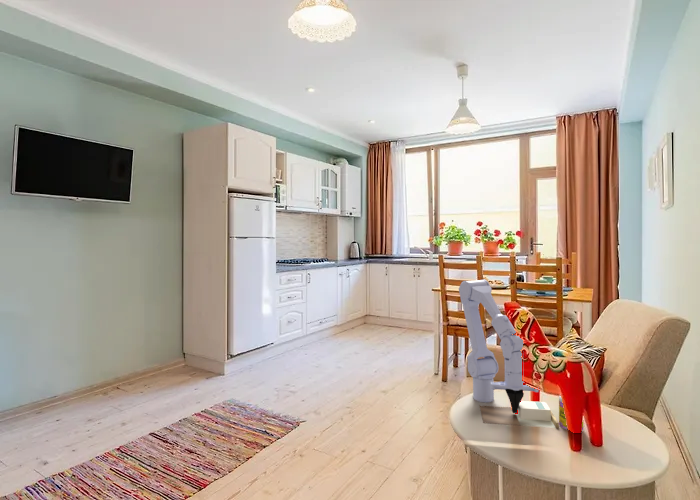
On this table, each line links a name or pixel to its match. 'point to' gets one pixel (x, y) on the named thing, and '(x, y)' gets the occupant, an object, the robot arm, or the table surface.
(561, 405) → the supplement bottle
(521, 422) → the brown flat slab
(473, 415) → the table surface
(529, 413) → the carton
